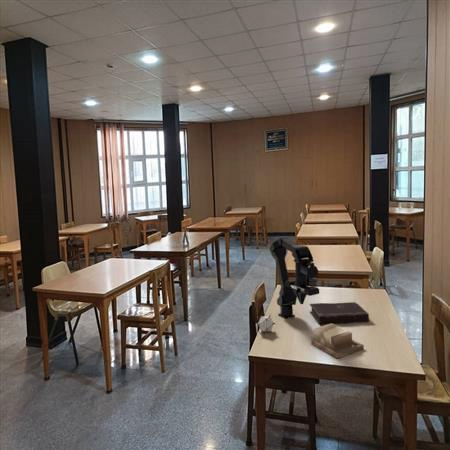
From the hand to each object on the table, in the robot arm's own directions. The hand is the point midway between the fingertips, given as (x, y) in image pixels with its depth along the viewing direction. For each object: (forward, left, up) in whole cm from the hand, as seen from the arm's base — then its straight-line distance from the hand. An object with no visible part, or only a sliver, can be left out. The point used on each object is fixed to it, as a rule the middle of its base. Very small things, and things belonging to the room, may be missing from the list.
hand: (301, 304), depth 178 cm
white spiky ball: (-6, -17, -12) cm, 22 cm away
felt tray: (+23, 0, -12) cm, 26 cm away
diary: (-1, +24, -13) cm, 27 cm away
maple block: (+15, 0, -9) cm, 17 cm away
